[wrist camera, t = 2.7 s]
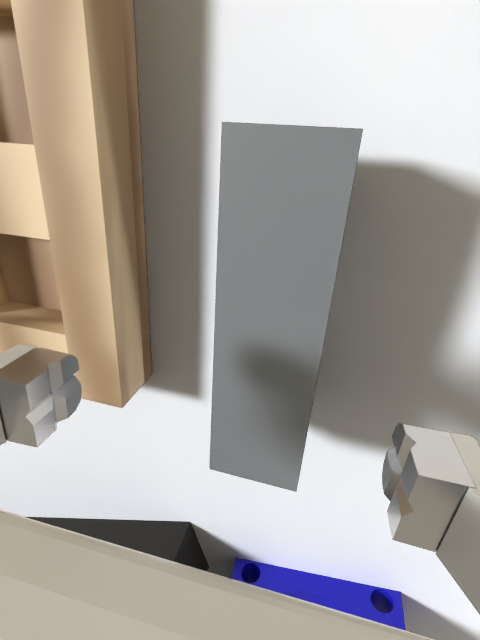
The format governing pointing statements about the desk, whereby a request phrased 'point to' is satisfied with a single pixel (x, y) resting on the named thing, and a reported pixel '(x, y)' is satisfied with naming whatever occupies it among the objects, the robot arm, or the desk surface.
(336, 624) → the robot arm
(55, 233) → the socket block
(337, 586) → the blue arch block
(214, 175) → the desk surface
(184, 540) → the binder
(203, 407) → the desk surface
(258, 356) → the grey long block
